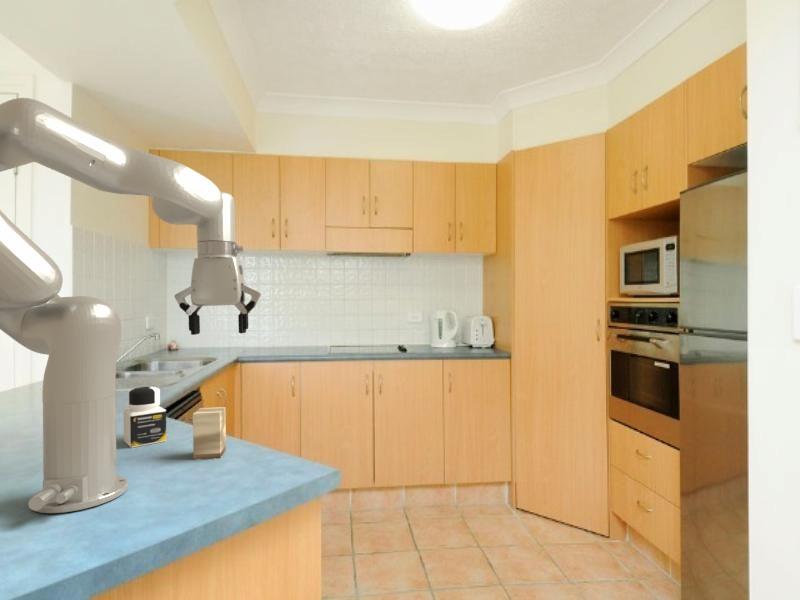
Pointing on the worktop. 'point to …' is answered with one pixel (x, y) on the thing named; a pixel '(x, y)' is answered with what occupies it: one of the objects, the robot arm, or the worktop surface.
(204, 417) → the birch block
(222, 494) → the worktop surface
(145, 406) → the medicine bottle
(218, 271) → the robot arm
